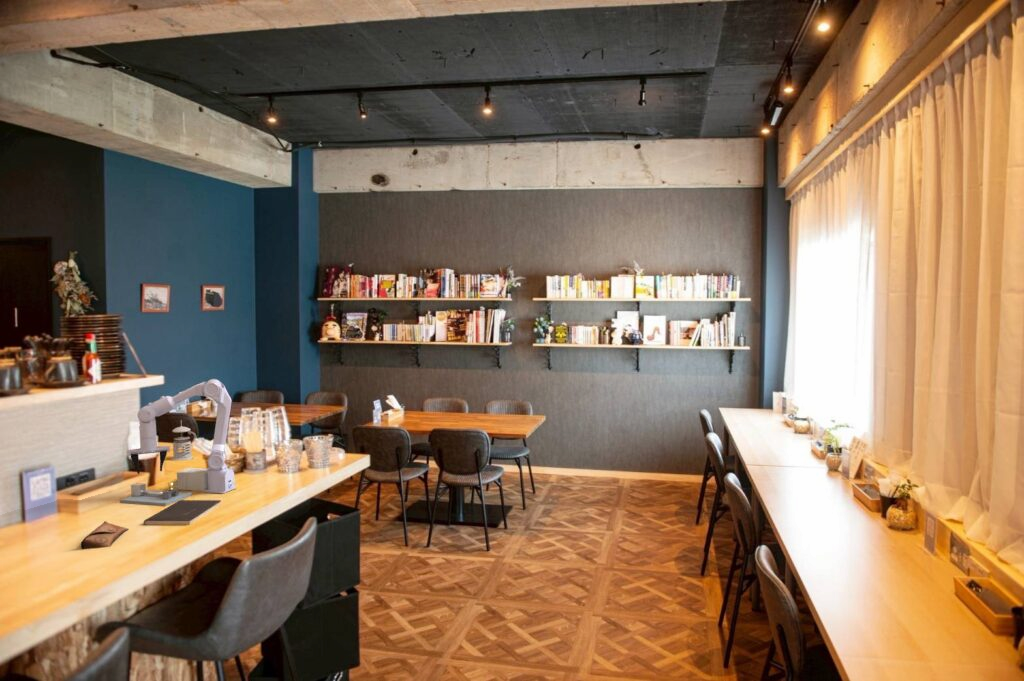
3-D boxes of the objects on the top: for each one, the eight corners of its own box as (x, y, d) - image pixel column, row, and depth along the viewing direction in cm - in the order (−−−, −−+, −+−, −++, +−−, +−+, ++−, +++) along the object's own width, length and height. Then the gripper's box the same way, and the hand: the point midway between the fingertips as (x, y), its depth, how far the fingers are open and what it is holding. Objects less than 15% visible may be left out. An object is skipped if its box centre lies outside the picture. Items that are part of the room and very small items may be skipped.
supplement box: (189, 484, 285) (216, 486, 283) (176, 489, 278) (204, 491, 275) (188, 467, 285) (216, 468, 282) (176, 471, 278) (204, 473, 275)
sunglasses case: (111, 547, 213) (98, 529, 212) (90, 560, 212) (76, 542, 211) (130, 528, 231) (118, 512, 230) (110, 540, 230) (98, 524, 229)
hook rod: (167, 495, 266) (166, 484, 266) (161, 497, 263) (161, 487, 263) (137, 493, 269) (136, 483, 269) (131, 495, 266) (130, 485, 266)
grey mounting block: (178, 495, 266) (178, 488, 266) (168, 499, 261) (168, 491, 261) (173, 495, 267) (173, 487, 267) (162, 499, 261) (162, 491, 261)
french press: (167, 458, 333) (165, 406, 332) (191, 454, 342) (189, 404, 341) (176, 461, 327) (174, 408, 326) (201, 457, 336) (199, 405, 334)
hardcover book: (221, 506, 257) (221, 500, 257) (190, 526, 234) (190, 519, 234) (178, 506, 258) (178, 500, 258) (143, 526, 235) (143, 519, 235)
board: (191, 495, 270) (191, 492, 270) (165, 505, 256) (165, 503, 256) (147, 492, 274) (147, 489, 274) (120, 502, 261) (119, 499, 261)
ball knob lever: (167, 490, 263) (167, 483, 262) (174, 485, 269) (173, 479, 269) (172, 490, 263) (171, 483, 263) (178, 485, 269) (178, 479, 269)
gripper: (169, 433, 275) (170, 467, 276) (127, 437, 268) (128, 472, 269) (169, 436, 268) (170, 471, 269) (126, 440, 262) (128, 476, 263)
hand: (149, 471), depth 269 cm, fingers open, 7 cm apart
